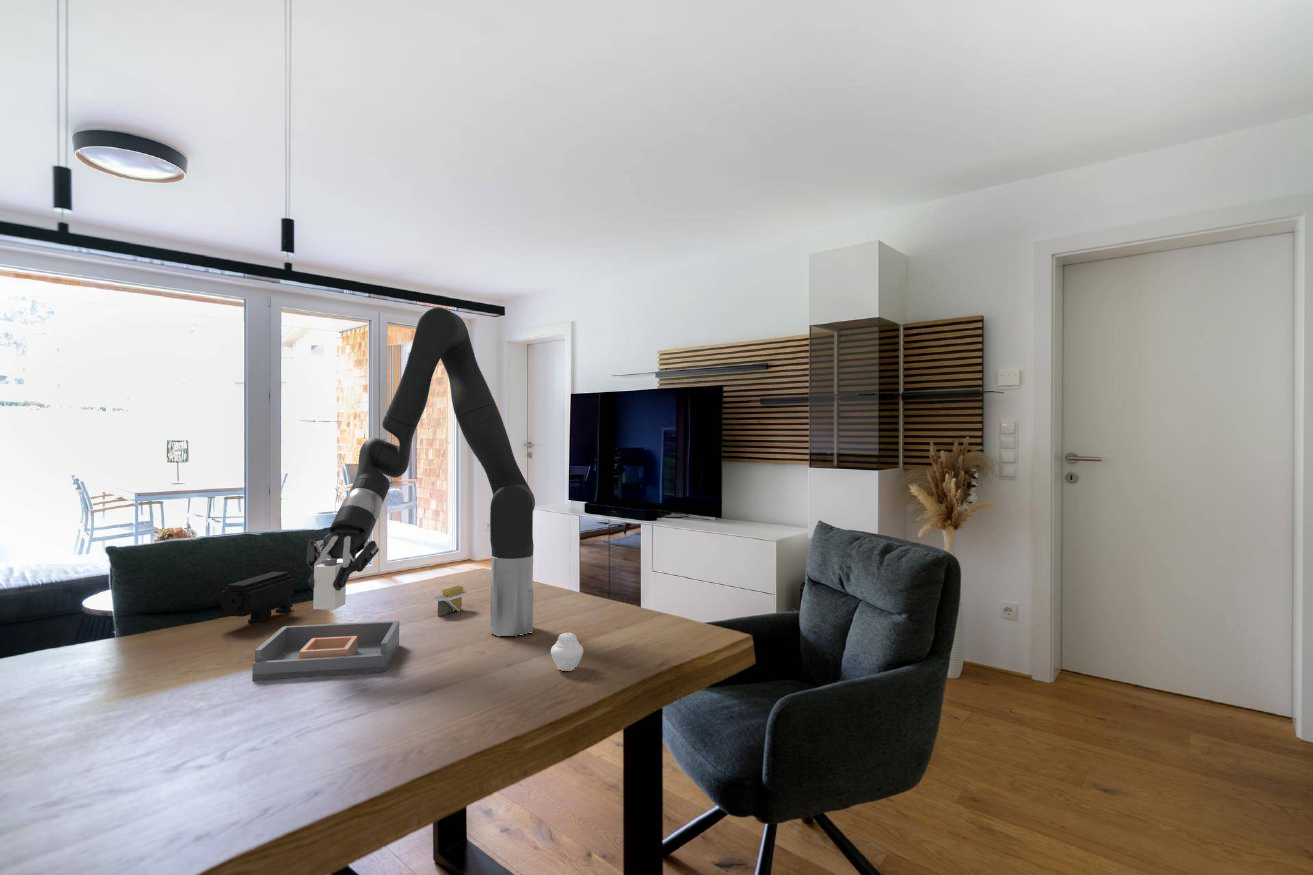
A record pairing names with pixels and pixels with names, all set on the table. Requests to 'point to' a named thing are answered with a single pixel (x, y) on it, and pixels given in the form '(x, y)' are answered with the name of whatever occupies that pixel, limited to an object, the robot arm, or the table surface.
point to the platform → (450, 600)
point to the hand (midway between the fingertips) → (324, 587)
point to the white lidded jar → (567, 651)
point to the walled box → (327, 650)
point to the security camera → (259, 596)
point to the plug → (327, 586)
